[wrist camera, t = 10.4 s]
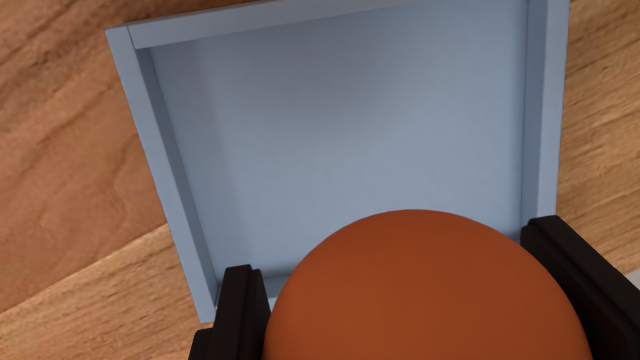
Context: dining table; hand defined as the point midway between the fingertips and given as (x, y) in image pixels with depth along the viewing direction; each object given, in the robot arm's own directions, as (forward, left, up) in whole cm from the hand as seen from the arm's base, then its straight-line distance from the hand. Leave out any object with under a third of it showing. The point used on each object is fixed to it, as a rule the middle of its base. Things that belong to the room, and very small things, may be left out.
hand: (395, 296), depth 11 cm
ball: (0, 0, +2) cm, 2 cm away
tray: (0, 0, -10) cm, 10 cm away
